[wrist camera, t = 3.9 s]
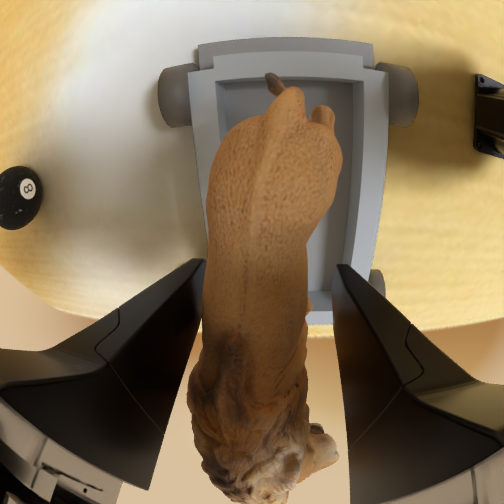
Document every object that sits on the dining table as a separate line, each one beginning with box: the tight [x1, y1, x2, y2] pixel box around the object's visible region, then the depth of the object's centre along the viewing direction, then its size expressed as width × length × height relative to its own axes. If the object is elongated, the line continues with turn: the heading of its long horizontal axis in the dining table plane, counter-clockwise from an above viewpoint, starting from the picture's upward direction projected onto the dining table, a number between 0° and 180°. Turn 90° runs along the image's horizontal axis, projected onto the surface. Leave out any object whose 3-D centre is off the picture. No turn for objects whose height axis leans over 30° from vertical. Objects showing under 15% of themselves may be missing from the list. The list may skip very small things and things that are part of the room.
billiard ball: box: [0, 166, 42, 230], centre depth 18 cm, size 6×6×6 cm
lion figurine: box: [187, 72, 343, 504], centre depth 8 cm, size 15×5×9 cm, turn 6°
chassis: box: [158, 37, 419, 325], centre depth 17 cm, size 14×22×4 cm, turn 3°
